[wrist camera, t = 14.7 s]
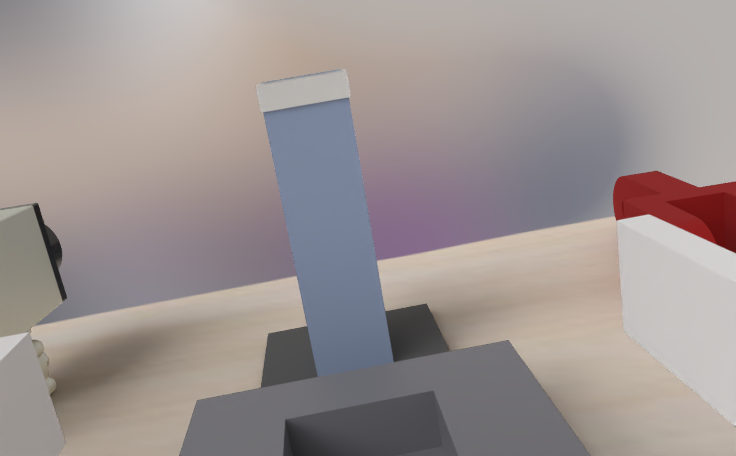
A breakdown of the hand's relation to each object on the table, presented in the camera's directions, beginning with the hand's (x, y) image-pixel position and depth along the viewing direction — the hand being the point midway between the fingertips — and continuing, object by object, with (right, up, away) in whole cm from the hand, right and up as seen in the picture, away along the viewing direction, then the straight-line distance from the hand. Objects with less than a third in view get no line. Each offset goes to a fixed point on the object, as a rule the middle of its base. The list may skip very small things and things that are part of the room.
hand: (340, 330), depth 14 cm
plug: (0, -5, +21) cm, 22 cm away
